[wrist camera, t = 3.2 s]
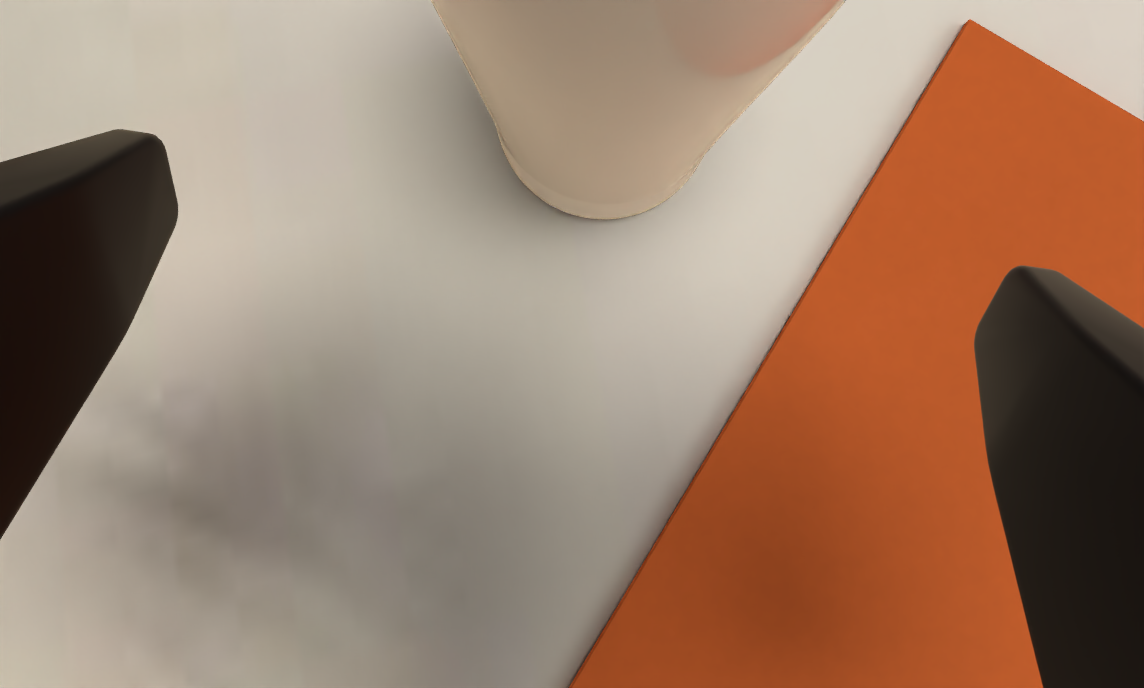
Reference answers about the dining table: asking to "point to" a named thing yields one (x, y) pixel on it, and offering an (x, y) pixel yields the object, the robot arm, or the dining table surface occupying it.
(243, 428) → the dining table surface
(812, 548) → the cloth
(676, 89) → the drinking glass
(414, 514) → the dining table surface
